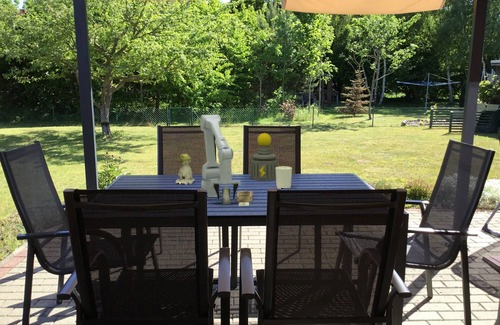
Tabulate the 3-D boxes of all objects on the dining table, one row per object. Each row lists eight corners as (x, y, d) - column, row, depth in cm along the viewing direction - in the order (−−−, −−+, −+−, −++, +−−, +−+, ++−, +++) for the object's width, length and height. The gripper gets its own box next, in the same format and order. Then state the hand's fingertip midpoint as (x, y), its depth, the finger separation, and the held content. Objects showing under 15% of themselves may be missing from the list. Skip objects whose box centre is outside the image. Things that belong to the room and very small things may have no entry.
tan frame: (236, 201, 213) (236, 197, 213) (238, 195, 227) (237, 191, 227) (252, 201, 213) (252, 197, 213) (252, 195, 227) (252, 191, 226)
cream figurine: (194, 180, 272) (193, 152, 269) (195, 184, 259) (194, 154, 256) (175, 180, 270) (174, 152, 267) (175, 184, 257) (174, 155, 255)
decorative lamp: (277, 181, 265) (277, 134, 261) (248, 180, 268) (247, 134, 264) (280, 175, 284) (280, 132, 279) (252, 175, 287) (252, 131, 282)
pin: (222, 204, 208) (221, 188, 207) (222, 202, 212) (222, 187, 211) (230, 204, 208) (229, 188, 207) (230, 202, 212) (230, 187, 211)
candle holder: (277, 185, 252) (277, 166, 250) (293, 186, 249) (293, 166, 248) (273, 189, 243) (273, 168, 241) (290, 189, 240) (290, 169, 238)
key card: (238, 205, 205) (238, 205, 205) (239, 202, 211) (239, 202, 211) (248, 205, 205) (248, 205, 205) (249, 202, 211) (249, 202, 211)
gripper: (210, 173, 204) (211, 200, 206) (239, 173, 204) (240, 200, 206) (212, 171, 211) (212, 197, 213) (240, 171, 211) (240, 197, 213)
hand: (226, 198), depth 210 cm, fingers open, 7 cm apart
